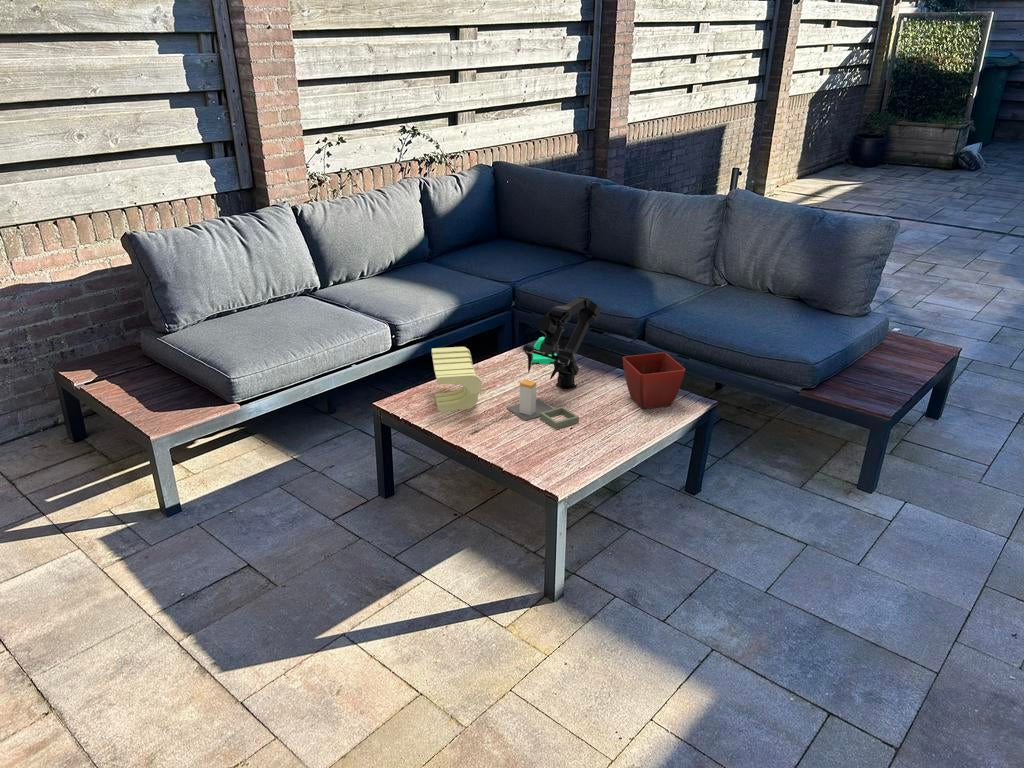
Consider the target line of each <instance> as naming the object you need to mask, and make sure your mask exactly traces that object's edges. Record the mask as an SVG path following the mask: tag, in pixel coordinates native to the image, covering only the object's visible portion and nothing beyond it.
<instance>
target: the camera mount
mask: <svg viewBox="0 0 1024 768" xmlns="http://www.w3.org/2000/svg"><path fill="white" fill-rule="evenodd" d="M544 338H545V336H541V337H538V339H537V340H536V342H535V344H534V345H533V346H534V347H535V349H537V350H539V349H540V346H541V343H542V342H543V341H544ZM548 355H549V354H548ZM554 355H556V356H557V355H558V354H557V353H555V354H554ZM533 356H534V357H533V361H532V364H533V363H538V364H539V365H550V364H551V363H554V360H553V359H550V358H547V357H544V356H541V355H538V354H535V353H534V354H533ZM549 356H552V355H549Z"/></svg>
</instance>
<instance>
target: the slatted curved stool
mask: <svg viewBox="0 0 1024 768" xmlns="http://www.w3.org/2000/svg"><path fill="white" fill-rule="evenodd" d="M431 357H432V364H433V371H434V375H435V379H436V383H437V384H438V385H458V386H462V387H461V388H459V389H457V390H455V391H454V390H453V391H448V392H441V393H440V392H439V393H434V400H435V403H436V404H435V405H436V409H437V411H439V412H441V411H443V412H444V411H455V410H468V409H472V408H475V406H476V405H477V403H478V400H479V394H482V380H481V378H480V377H479V375H477V374H476V370H475V368H474V363H473V358H472V354H471V351H470V349H469V348H467V347H466V346H453V347H435V348H431Z"/></svg>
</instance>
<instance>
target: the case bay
mask: <svg viewBox="0 0 1024 768" xmlns="http://www.w3.org/2000/svg"><path fill="white" fill-rule="evenodd" d="M559 415H562V416H564V417H566V418H565V419H562V420H558V421H557V420H555V419H553V418H552V417H555V416H559ZM539 419H540V420H541V421H543V422H545V424H547V425H549V426H550V427H552V428H553V429H555V430H558V429H559V430H560V429H562V427H563V428H565V427H569V426H572V424H573V425H576V424H578V423H579V422H580V416H579V415H577V414H576V413H574V412H572V411H570V410H568V409H567V408H566V407H564V406H560V407H556V408H553V409H552V410H549V411H545V412H541V413H540V417H539Z"/></svg>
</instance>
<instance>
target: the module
mask: <svg viewBox="0 0 1024 768" xmlns="http://www.w3.org/2000/svg"><path fill="white" fill-rule="evenodd" d="M536 399H537V382H535V381H532V380H529V379H523V380H522V381H520V382H519V404H520V405H519V412H520V413H523V414H527V415H532V414H533V413H535V412H536Z"/></svg>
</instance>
